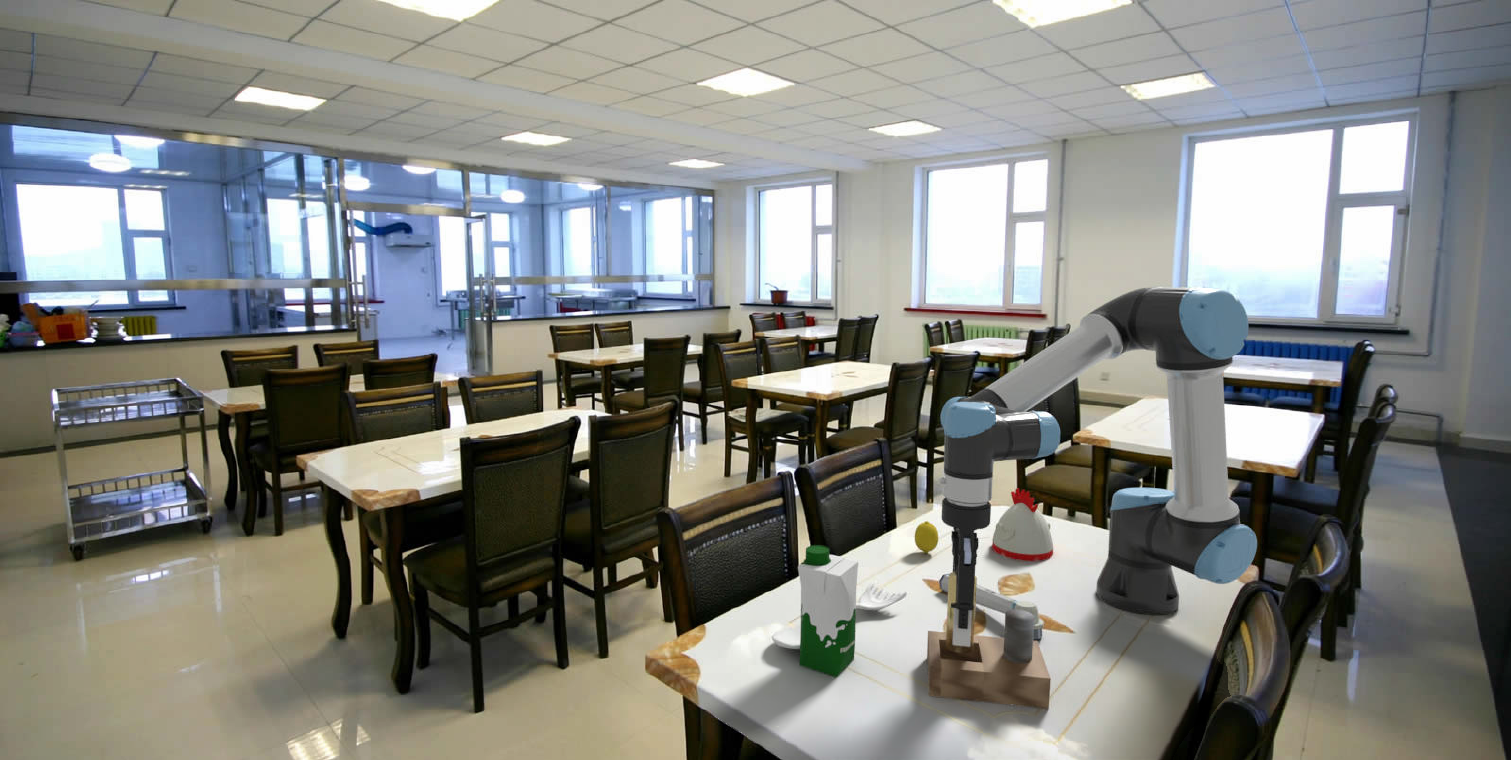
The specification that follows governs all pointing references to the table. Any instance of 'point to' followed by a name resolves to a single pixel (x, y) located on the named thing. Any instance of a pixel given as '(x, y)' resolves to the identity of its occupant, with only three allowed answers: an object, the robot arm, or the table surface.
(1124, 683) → the table surface
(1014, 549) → the kitchen timer
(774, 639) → the white spork
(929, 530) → the lemon
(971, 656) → the jig
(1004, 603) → the grey bent pipe
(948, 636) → the gold cylinder
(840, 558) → the milk carton
